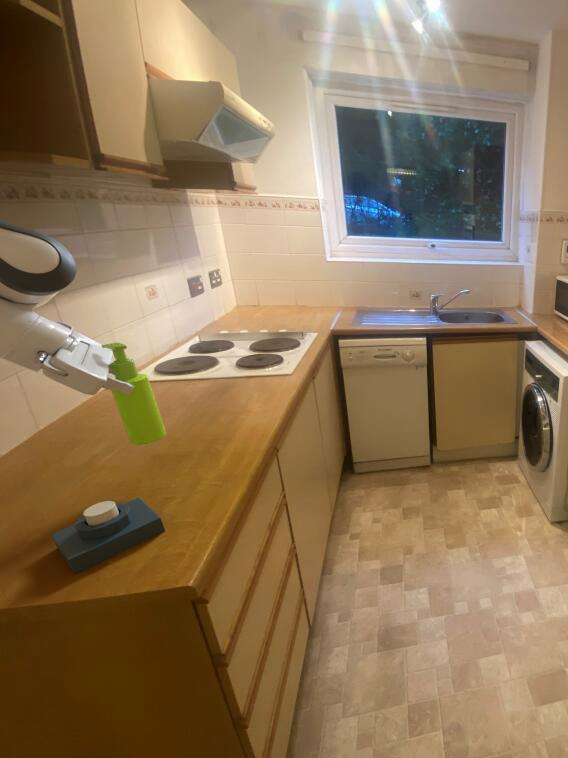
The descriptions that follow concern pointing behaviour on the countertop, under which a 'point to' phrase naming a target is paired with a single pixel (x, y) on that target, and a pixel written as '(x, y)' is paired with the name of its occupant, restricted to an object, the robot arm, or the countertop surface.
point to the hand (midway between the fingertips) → (132, 384)
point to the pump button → (101, 513)
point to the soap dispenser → (136, 400)
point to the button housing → (107, 535)
